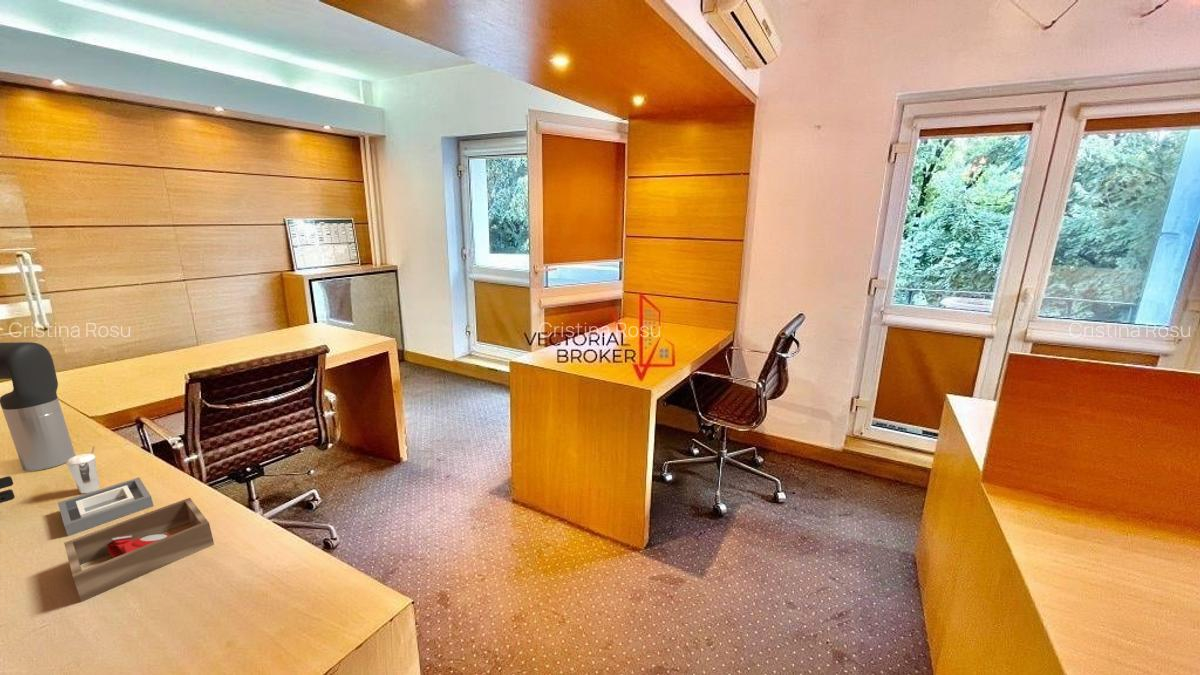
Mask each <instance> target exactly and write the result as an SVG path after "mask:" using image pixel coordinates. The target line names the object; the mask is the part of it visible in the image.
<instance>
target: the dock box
mask: <svg viewBox="0 0 1200 675" xmlns="http://www.w3.org/2000/svg"><path fill="white" fill-rule="evenodd" d="M57 505H58V509H59V513H60V515H61V519H62V523H63V527H64V528H65V533H66V536H67V537H69V536H72V535H74V534H77V533H81V532H83V531H86V530H89V529H91V528H95V527H98V526H100V525H103V524H106V523H108V522H112V521H115V520H117V519H120V518H123V517H125V516H128V515H131V514H134V513H137V512H140V511H143V510H147V509H148V508H152V507H154V502H153V499H152V495H151V494H150V492H149V491H148V489H147V487H146V486H145V484H144V482H143V480H141V478H140V477H136V478H133V479H129V480H125V481H123V482H120V483H119V482H118V483H117V484H114V485H111V486H107V487H104V488H101V489H100V488H99V489H97V490H95V491H93V492H89V493H84V494H81V495H78V496H73V497H71V498H68V499H65V500H62V501H61V500H60V501H58V502H57Z"/></svg>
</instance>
